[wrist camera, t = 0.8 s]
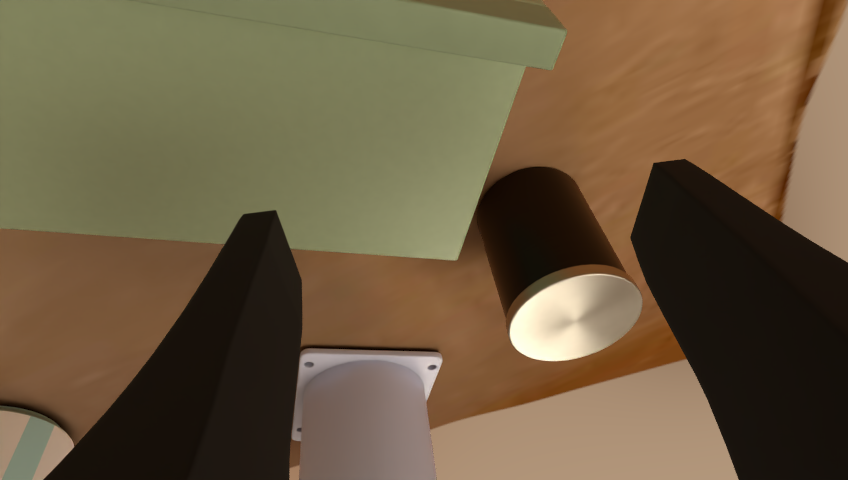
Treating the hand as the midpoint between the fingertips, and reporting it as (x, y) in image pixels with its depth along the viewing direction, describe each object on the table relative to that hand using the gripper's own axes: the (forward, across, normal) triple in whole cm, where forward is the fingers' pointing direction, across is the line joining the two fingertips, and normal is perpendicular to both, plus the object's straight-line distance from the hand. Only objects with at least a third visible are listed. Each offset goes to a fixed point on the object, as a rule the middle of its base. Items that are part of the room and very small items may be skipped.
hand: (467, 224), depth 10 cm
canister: (+10, -4, +10) cm, 14 cm away
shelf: (+10, +6, +1) cm, 12 cm away
